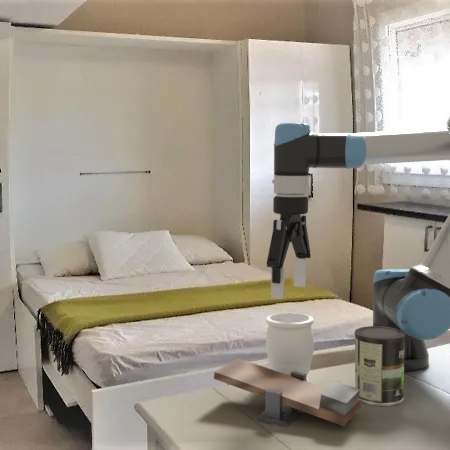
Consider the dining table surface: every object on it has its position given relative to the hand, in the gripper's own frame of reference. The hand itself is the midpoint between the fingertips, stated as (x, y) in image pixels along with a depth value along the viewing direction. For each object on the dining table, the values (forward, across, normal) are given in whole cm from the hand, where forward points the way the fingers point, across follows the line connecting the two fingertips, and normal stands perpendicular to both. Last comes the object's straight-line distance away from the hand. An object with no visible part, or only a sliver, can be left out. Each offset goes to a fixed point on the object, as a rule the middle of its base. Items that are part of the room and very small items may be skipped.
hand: (289, 292), depth 142 cm
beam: (+17, +14, +5) cm, 22 cm away
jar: (+21, -1, 0) cm, 21 cm away
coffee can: (+21, -1, +20) cm, 29 cm away
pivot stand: (+21, +14, +5) cm, 26 cm away
